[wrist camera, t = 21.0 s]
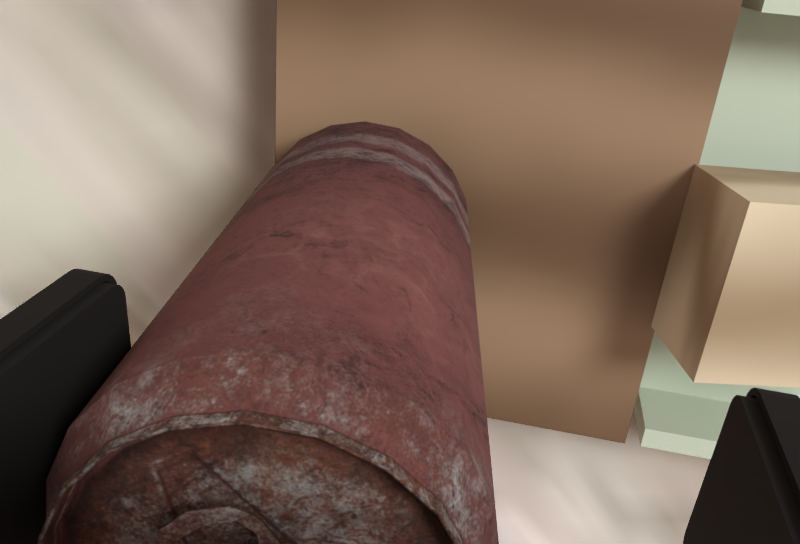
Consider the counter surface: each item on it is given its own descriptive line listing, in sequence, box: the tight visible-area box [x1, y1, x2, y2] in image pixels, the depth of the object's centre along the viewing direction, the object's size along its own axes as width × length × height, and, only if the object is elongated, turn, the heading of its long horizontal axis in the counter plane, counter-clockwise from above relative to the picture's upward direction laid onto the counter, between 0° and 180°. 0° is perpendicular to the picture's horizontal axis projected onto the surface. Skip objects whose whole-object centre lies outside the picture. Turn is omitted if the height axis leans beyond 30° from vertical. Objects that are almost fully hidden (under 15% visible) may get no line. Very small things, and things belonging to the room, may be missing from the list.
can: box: [38, 121, 499, 544], centre depth 15 cm, size 6×6×14 cm
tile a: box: [651, 164, 800, 388], centre depth 19 cm, size 5×5×3 cm
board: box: [275, 0, 743, 443], centre depth 23 cm, size 14×12×3 cm
